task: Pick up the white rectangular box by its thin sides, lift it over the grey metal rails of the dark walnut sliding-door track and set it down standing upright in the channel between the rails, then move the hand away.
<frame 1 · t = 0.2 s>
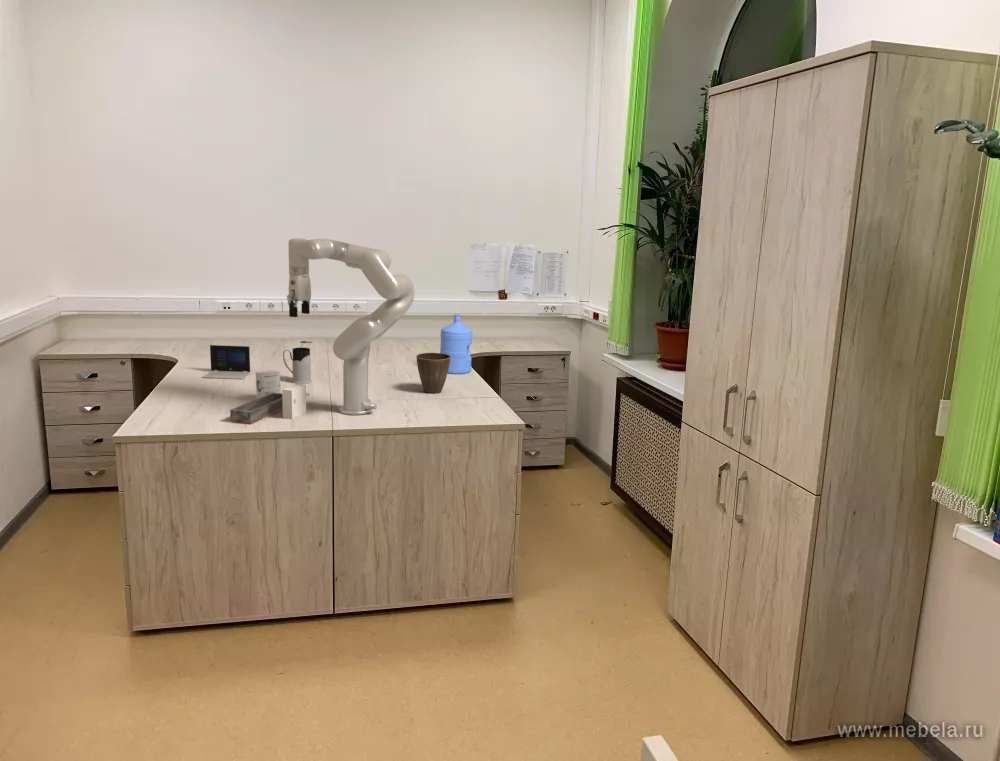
hand: (299, 315, 297), 36 cm above the table, tool pointing down, fingers open, 9 cm apart
white rectangular box: (294, 415, 291), on the table
ink box: (268, 400, 310), on the table
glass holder: (296, 381, 343), on the table
laptop: (226, 376, 347), on the table
water jug: (455, 371, 377), on the table
door track: (262, 413, 291), on the table
plant pot: (432, 392, 335), on the table
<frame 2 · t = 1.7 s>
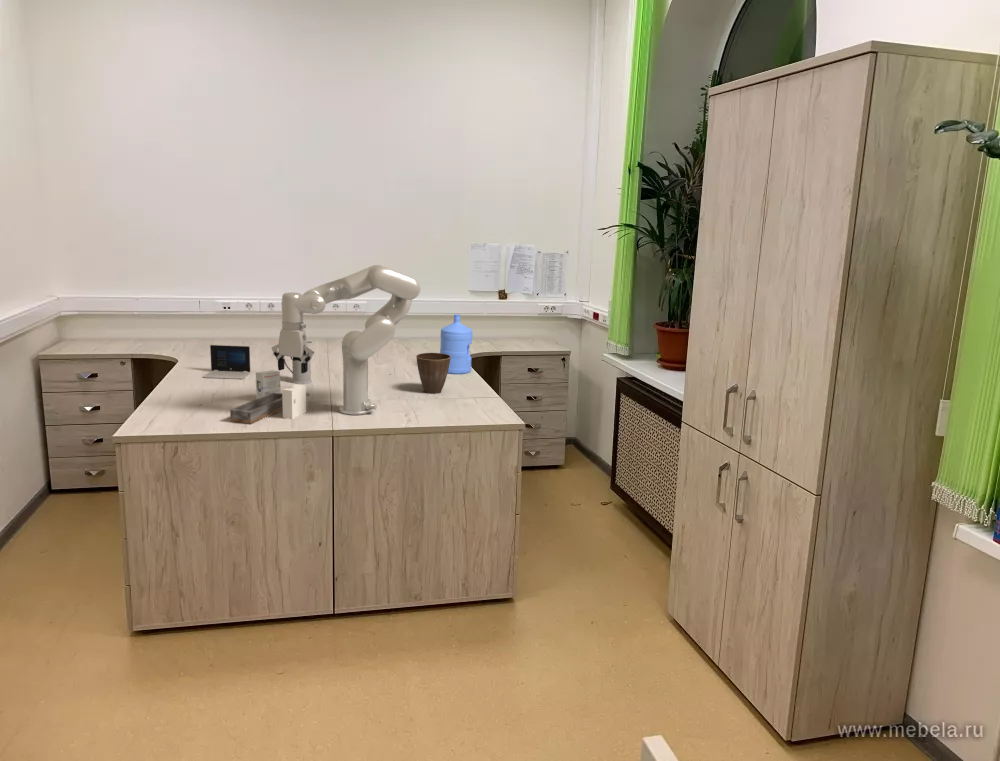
hand: (292, 371, 287), 17 cm above the table, tool pointing down, fingers open, 9 cm apart
nothing on the table moved.
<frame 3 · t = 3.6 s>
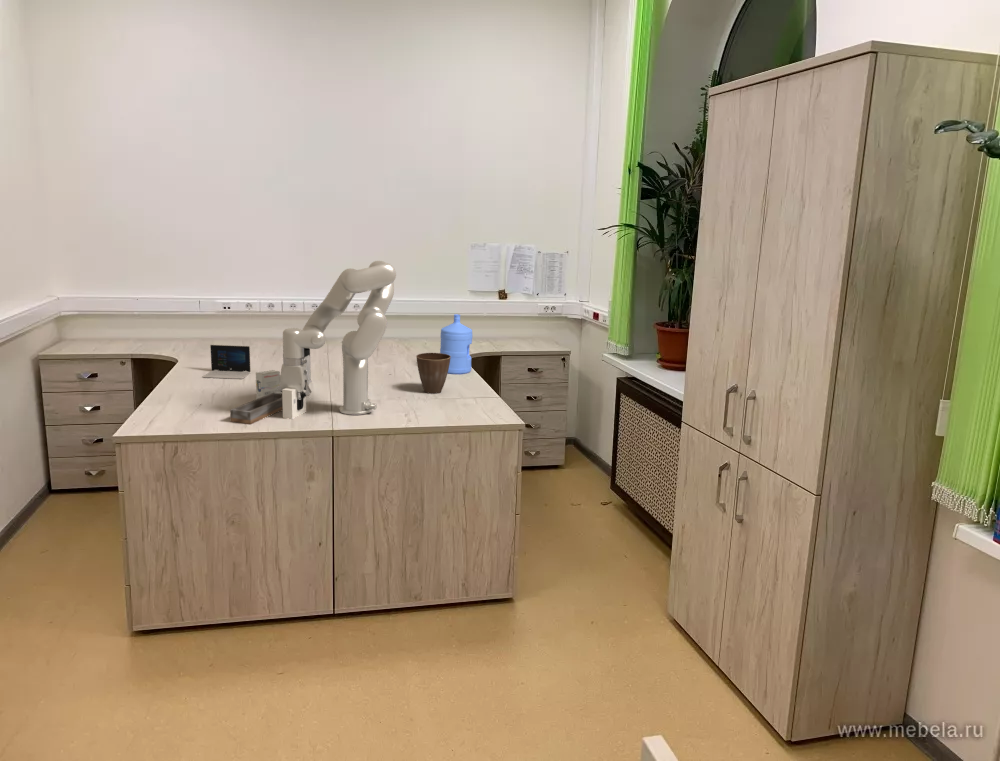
hand: (294, 407, 290), 3 cm above the table, tool pointing down, fingers closed on white rectangular box, 4 cm apart
white rectangular box: (294, 415, 291), on the table, touching gripper
everything else where it was.
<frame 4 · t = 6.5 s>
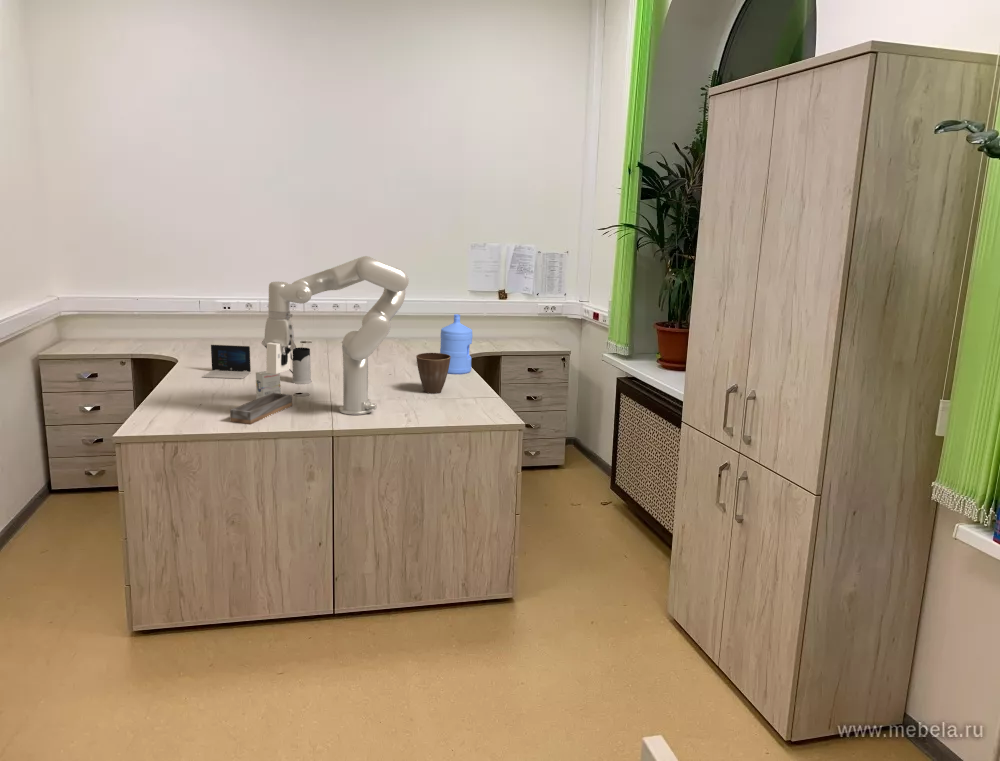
hand: (278, 363, 286), 20 cm above the table, tool pointing down, fingers closed on white rectangular box, 4 cm apart
white rectangular box: (278, 370, 287), point 17 cm above the table, touching gripper
everything else where it was.
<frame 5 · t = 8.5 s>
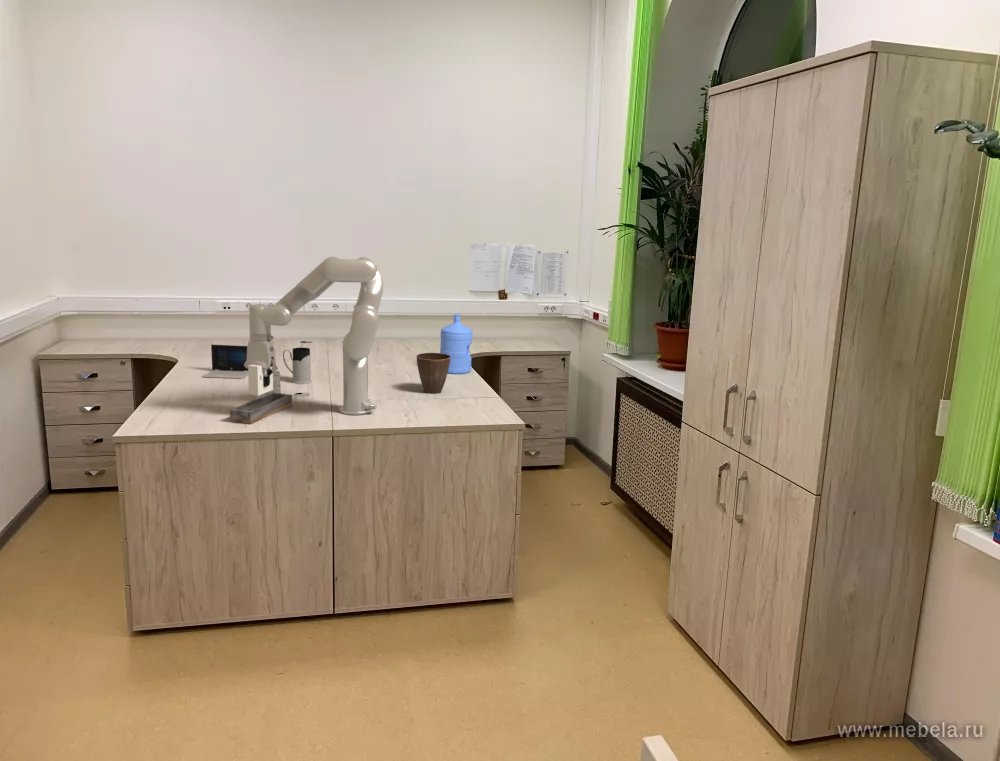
hand: (261, 384, 288), 11 cm above the table, tool pointing down, fingers closed on white rectangular box, 4 cm apart
white rectangular box: (261, 392, 289), point 8 cm above the table, touching gripper
when the fingers open (6 cm above the table, at t = 9.8 s): white rectangular box drops 1 cm, resting on door track.
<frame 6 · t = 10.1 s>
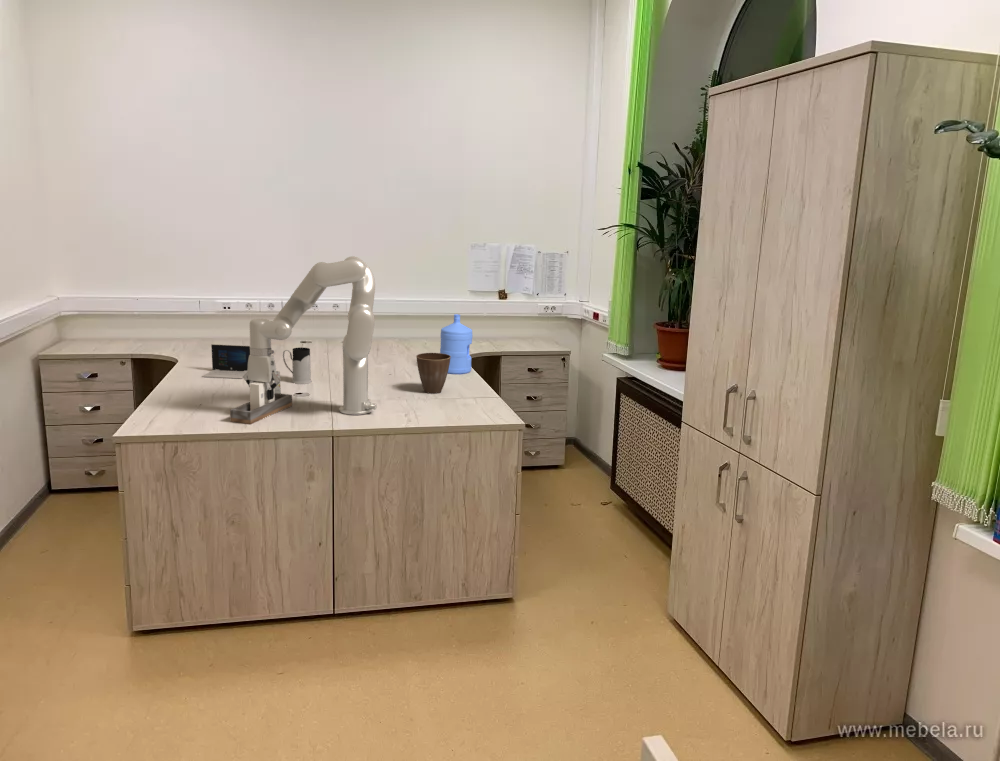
hand: (262, 397, 290), 6 cm above the table, tool pointing down, fingers open, 6 cm apart
white rectangular box: (262, 409, 291), point 1 cm above the table, touching door track
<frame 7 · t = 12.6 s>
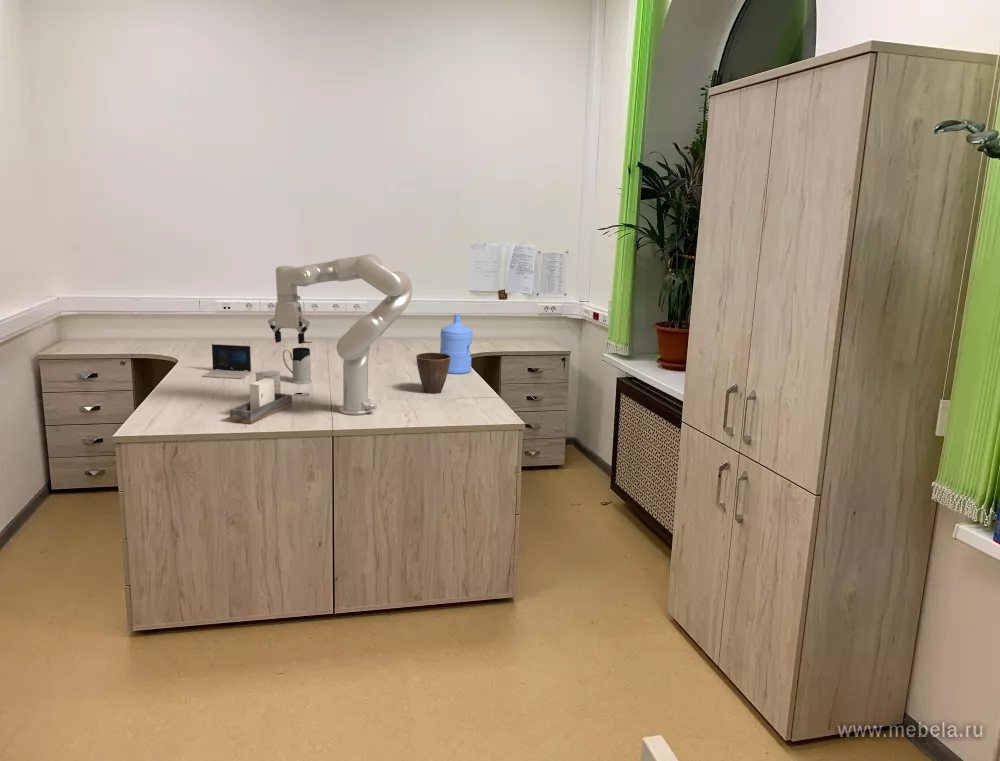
hand: (289, 342, 296), 26 cm above the table, tool pointing down, fingers open, 9 cm apart
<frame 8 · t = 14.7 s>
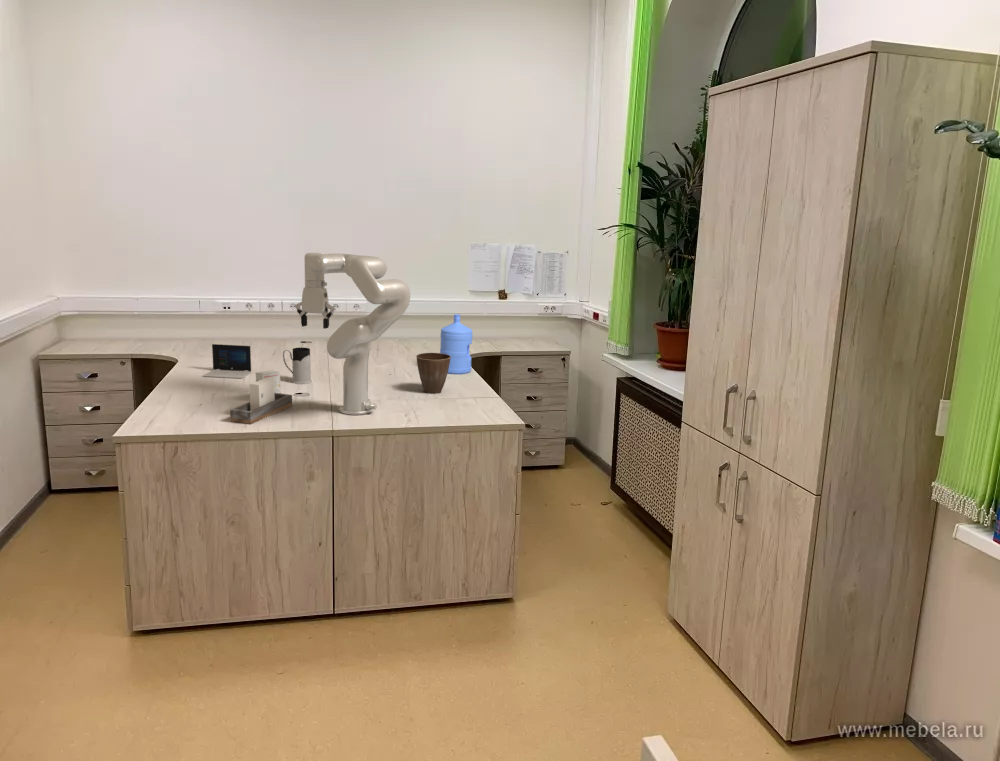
hand: (315, 327, 306), 30 cm above the table, tool pointing down, fingers open, 9 cm apart
at the end: white rectangular box inside the target area on the door track (0.1 cm from its centre), point 1.5 cm above the door track's base; white rectangular box tilted 0°; the gripper is holding nothing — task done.
